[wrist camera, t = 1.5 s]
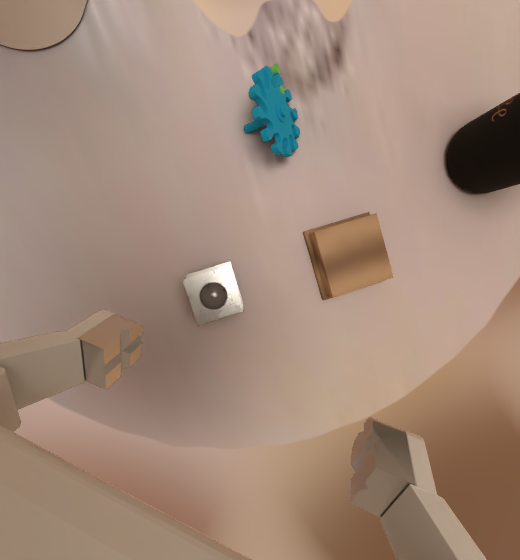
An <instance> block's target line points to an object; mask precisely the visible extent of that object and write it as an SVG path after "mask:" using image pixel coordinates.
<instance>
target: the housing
mask: <svg viewBox="0 0 520 560" xmlns="http://www.w3.org/2000/svg"><path fill="white" fill-rule="evenodd" d="M183 282H184V286H185V289H186V292H187V295H188V298H189V301H190V304H191V307H192V310H193V313H194V316H195V319H196V322H197V325H198V326H199V325H202V324H205V323H208V322H211V321H214V320H217V319H220V318H223V317H226V316H230V315H233V314H236V313H239V312H242V311H244V310H243V306H242V305H243V302H242V298H241V295H240V292H239V289H238V286H237V282H236V279H235V276H234V273H233V269H232V266H231V263H230V262H227V263H224V264H220V265H217V266H214V267H210V268H207V269H204V270H200V271H197V272H194V273H190V274H187V275H186V279H183Z"/></svg>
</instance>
